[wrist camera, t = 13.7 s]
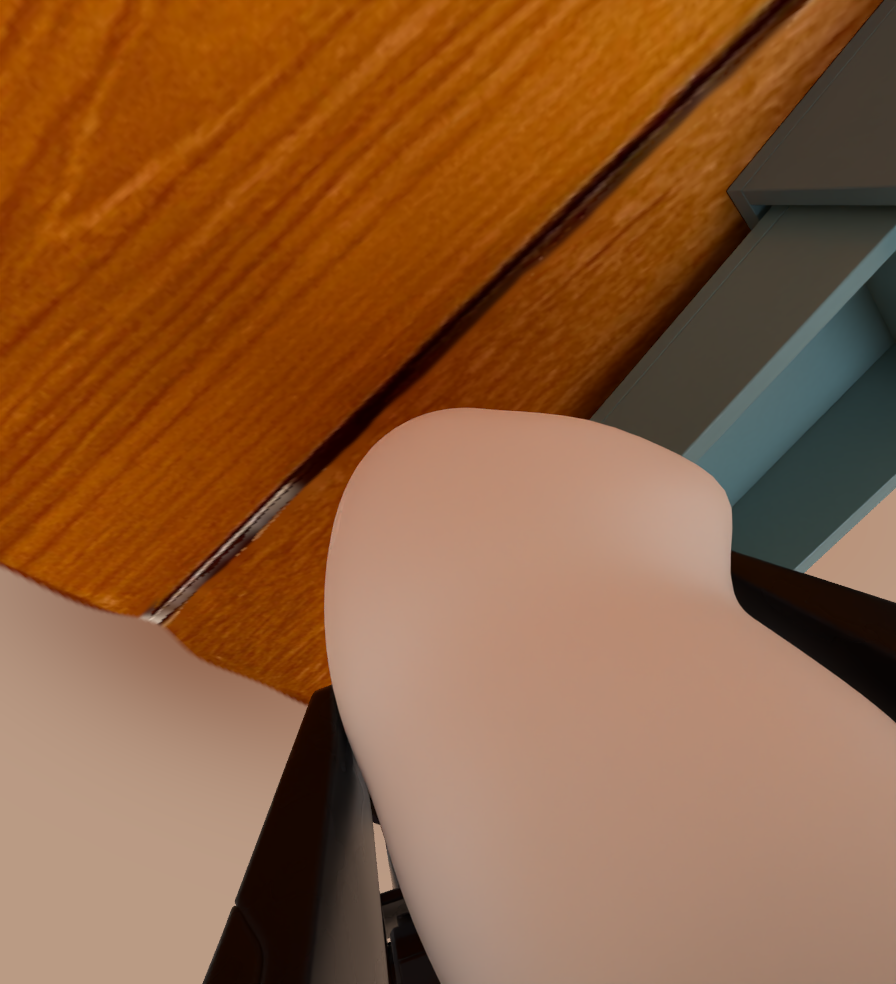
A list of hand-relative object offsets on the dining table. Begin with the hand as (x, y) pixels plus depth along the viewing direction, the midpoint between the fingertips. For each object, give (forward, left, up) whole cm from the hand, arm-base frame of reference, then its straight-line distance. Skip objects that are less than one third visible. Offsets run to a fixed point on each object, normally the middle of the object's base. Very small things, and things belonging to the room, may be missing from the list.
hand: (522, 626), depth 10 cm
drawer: (-7, -12, -12) cm, 19 cm away
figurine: (0, 0, -5) cm, 5 cm away
